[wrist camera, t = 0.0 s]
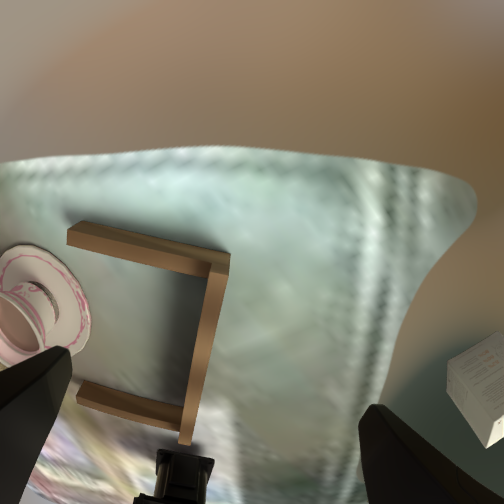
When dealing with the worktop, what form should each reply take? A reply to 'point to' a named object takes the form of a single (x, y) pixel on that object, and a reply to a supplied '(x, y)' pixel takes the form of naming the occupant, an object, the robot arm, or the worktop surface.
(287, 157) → the worktop surface
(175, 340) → the worktop surface
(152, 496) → the robot arm
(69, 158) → the worktop surface
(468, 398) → the small box
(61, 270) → the teacup
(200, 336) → the open wooden frame
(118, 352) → the worktop surface
